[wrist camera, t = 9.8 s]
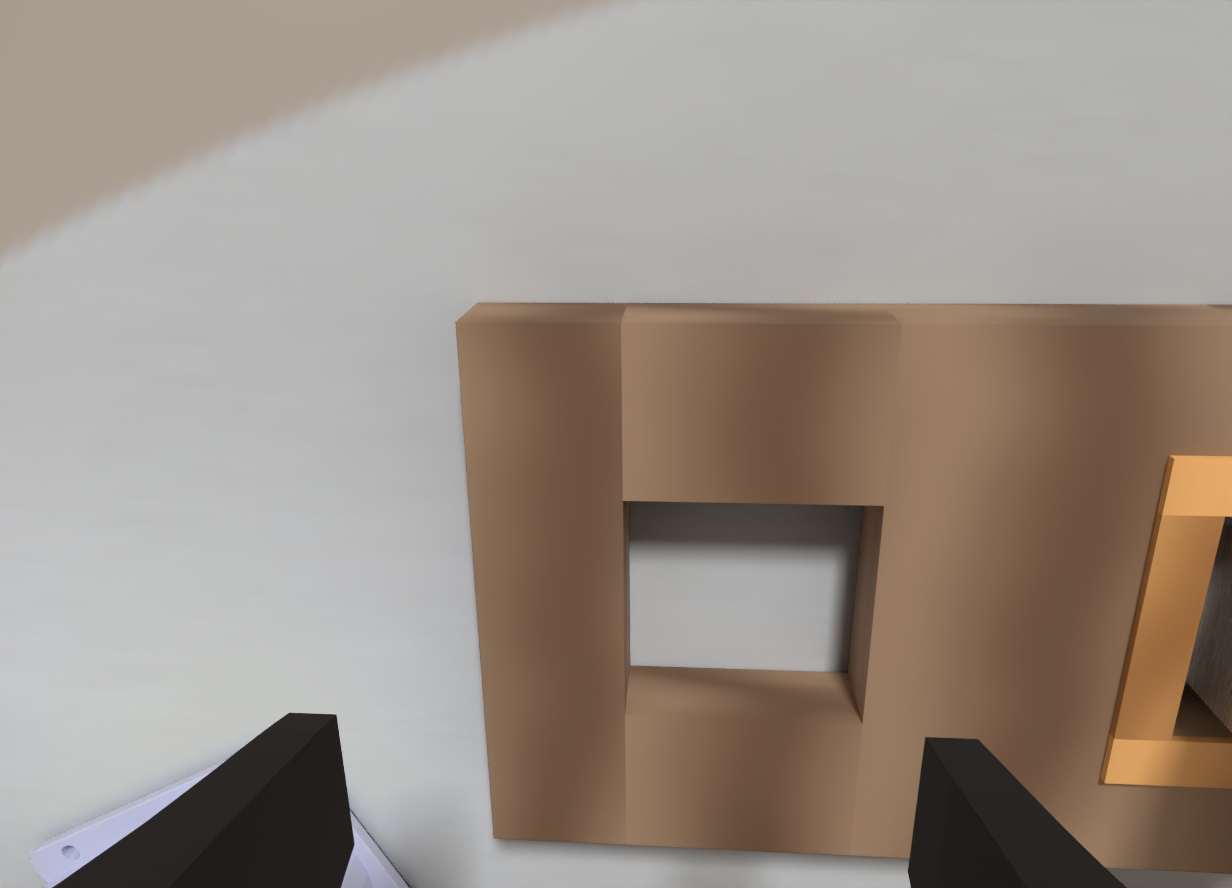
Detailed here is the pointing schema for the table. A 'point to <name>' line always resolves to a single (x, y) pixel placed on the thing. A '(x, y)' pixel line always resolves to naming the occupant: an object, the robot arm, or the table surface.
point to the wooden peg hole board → (886, 572)
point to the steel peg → (1216, 636)
